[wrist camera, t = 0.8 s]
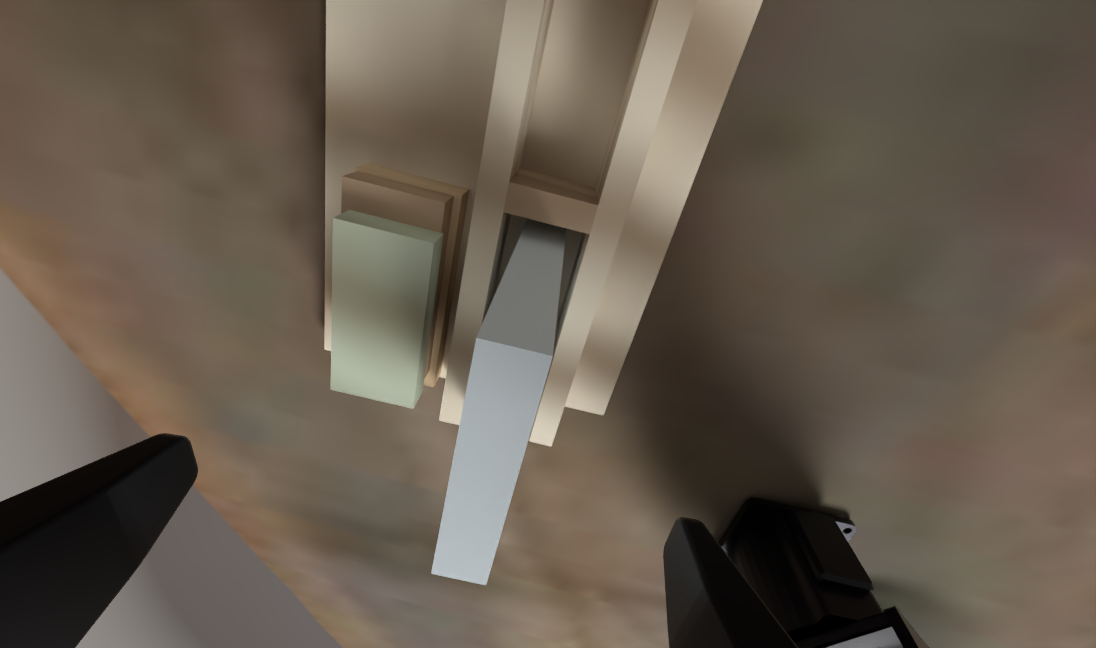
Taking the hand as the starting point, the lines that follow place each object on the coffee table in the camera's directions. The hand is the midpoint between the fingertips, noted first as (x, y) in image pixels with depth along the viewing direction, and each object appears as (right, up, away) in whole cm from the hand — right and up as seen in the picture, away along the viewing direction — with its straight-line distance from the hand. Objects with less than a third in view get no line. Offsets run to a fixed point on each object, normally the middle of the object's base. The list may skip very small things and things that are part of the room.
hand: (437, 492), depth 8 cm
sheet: (+1, +4, +12) cm, 12 cm away
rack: (0, +9, +10) cm, 14 cm away
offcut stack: (-4, +5, +11) cm, 13 cm away
